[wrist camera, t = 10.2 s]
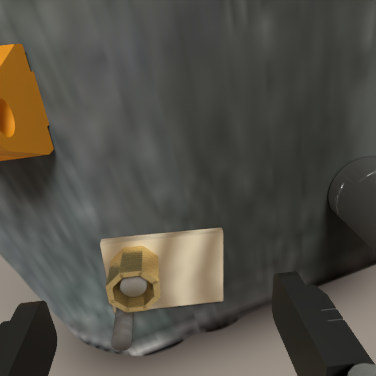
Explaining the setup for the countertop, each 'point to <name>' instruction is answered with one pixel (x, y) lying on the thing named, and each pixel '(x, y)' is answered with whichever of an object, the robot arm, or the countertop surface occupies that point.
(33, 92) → the bracket
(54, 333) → the robot arm
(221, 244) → the maple board
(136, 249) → the brass collar
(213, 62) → the countertop surface
